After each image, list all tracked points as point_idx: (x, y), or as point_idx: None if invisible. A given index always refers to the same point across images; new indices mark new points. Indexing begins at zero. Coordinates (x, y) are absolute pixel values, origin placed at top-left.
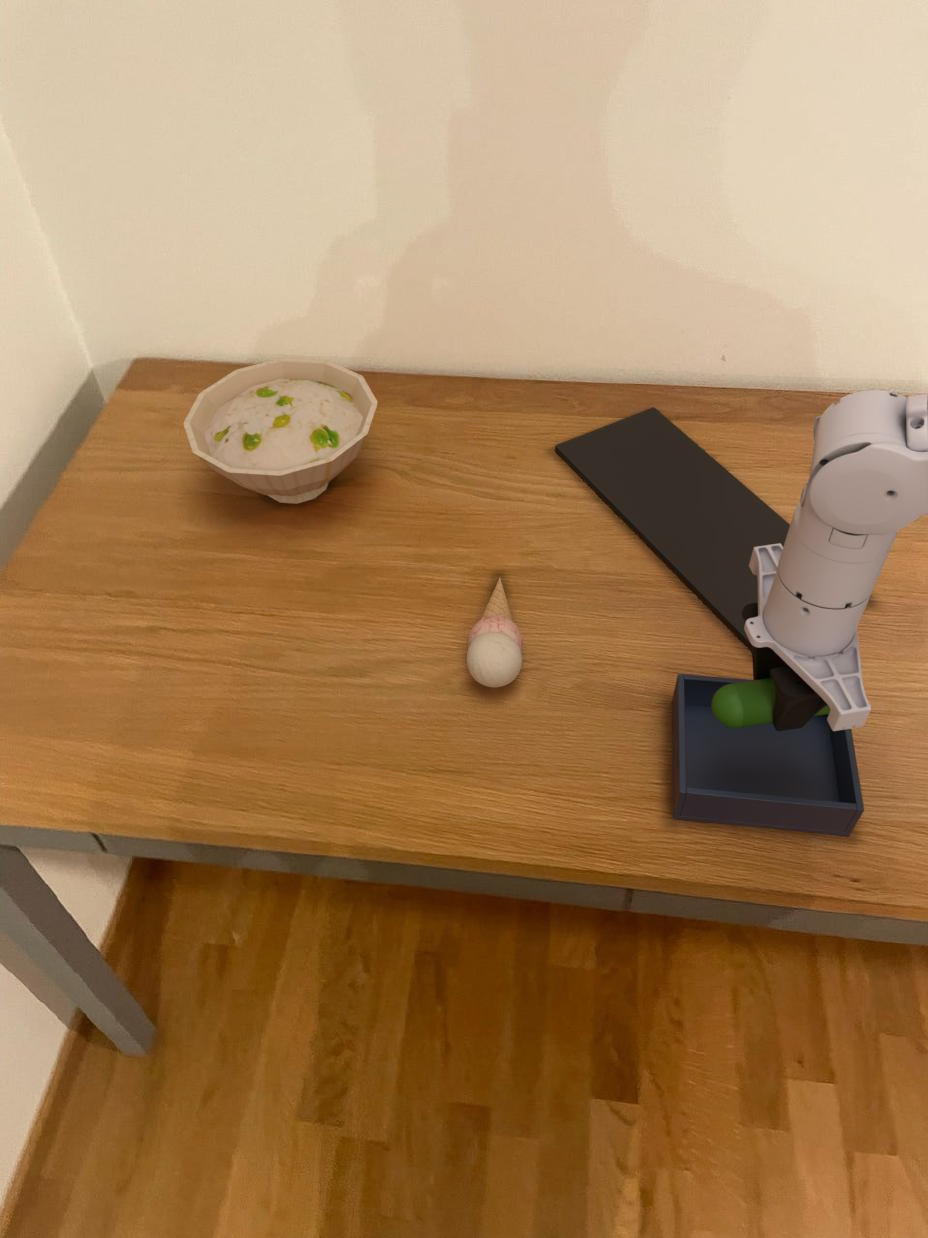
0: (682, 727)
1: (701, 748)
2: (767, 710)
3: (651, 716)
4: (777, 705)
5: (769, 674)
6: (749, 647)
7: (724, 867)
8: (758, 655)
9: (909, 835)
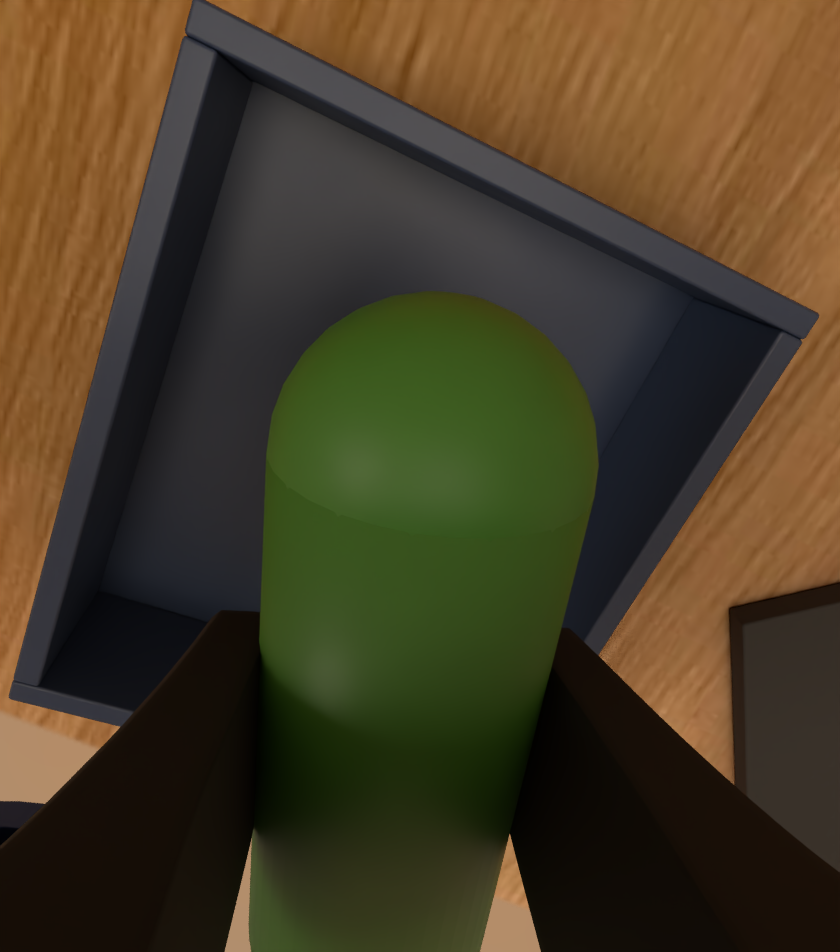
0: (552, 200)
1: (489, 295)
2: (274, 652)
3: (693, 177)
4: (142, 800)
5: (550, 763)
6: (771, 604)
7: (5, 159)
8: (693, 900)
9: (69, 719)
